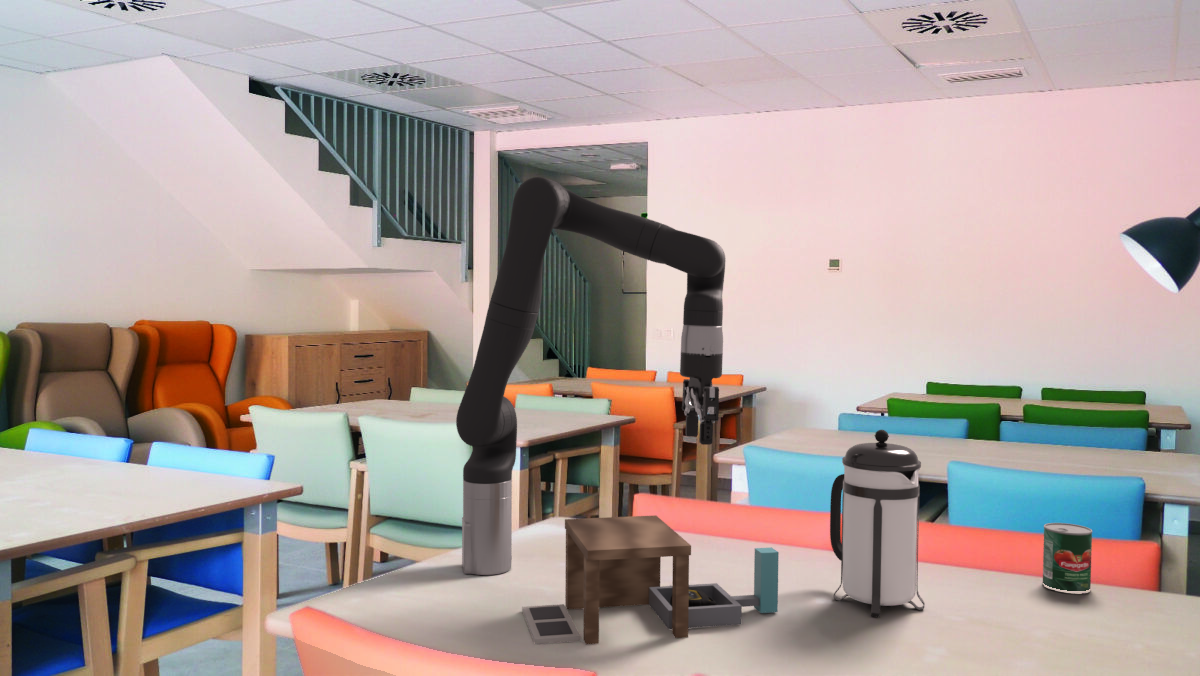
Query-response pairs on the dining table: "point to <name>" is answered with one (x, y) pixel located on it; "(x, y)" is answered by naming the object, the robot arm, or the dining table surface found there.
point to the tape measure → (698, 599)
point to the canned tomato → (1067, 556)
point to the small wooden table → (623, 567)
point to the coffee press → (877, 523)
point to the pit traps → (550, 624)
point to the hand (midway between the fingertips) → (698, 440)
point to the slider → (725, 596)
